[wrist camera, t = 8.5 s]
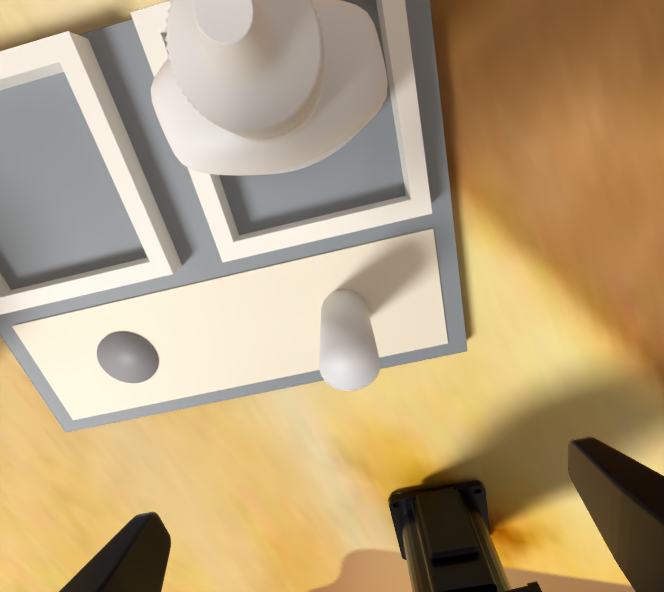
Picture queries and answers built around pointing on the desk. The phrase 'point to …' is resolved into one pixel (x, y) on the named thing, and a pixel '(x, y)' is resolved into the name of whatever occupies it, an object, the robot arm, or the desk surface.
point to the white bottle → (266, 82)
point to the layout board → (214, 236)
